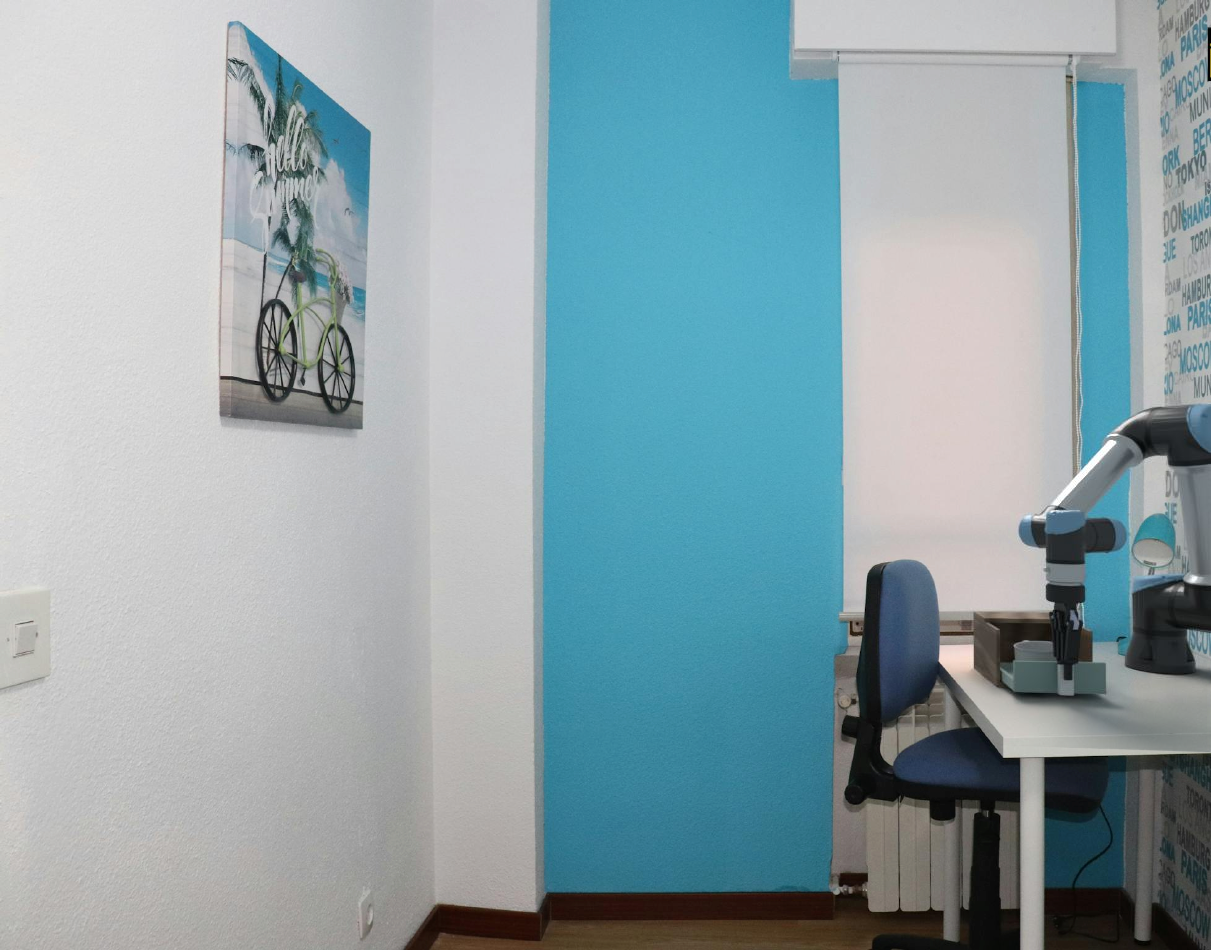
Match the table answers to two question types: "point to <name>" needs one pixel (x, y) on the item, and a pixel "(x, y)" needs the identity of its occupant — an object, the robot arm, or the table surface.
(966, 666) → the table surface
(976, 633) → the cubby
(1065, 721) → the table surface
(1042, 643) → the teacup
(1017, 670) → the drawer
